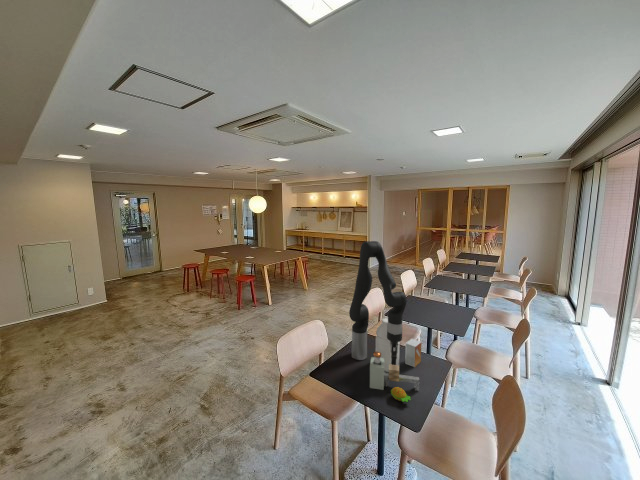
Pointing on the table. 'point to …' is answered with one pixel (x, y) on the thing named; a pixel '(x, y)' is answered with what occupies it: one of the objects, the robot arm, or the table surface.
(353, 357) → the robot arm
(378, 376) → the cabinet
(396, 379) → the block
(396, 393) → the toy pineapple
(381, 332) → the bottle
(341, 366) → the table surface
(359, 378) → the table surface
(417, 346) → the small box
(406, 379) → the rail
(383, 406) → the table surface
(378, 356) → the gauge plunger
